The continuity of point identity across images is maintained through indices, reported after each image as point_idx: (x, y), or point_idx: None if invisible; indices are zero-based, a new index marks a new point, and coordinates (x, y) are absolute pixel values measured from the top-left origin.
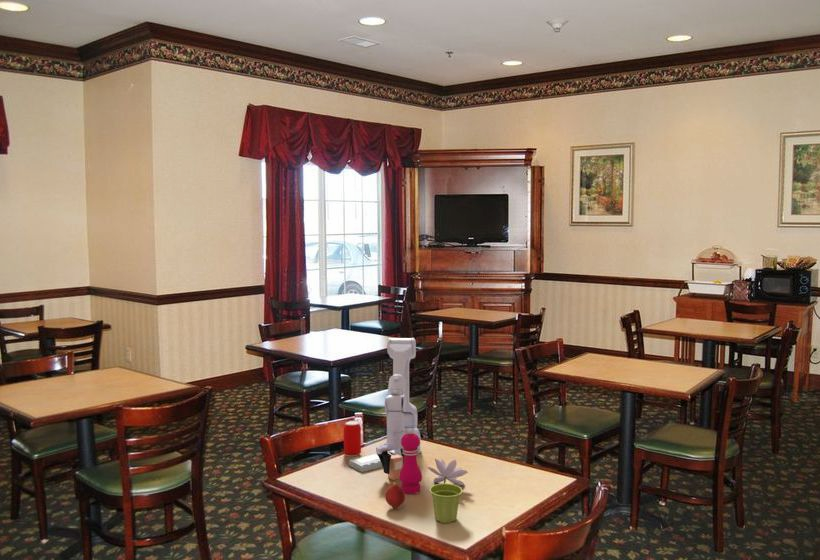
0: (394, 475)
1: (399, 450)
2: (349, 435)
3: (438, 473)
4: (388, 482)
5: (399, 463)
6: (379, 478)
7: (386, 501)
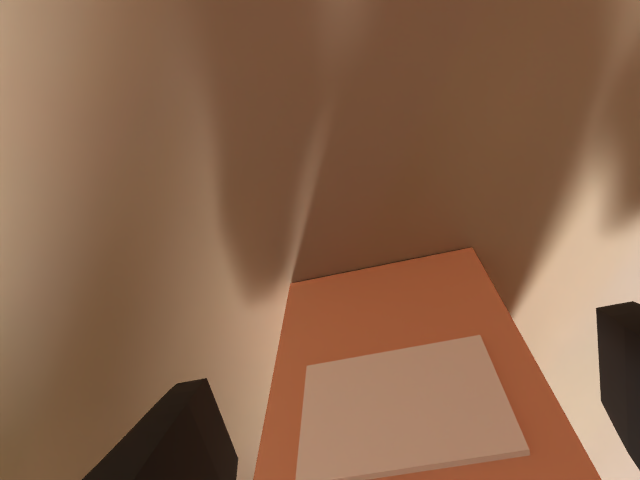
0: (465, 284)
1: None
2: None
3: None
4: (590, 195)
5: (369, 436)
6: None
7: None
